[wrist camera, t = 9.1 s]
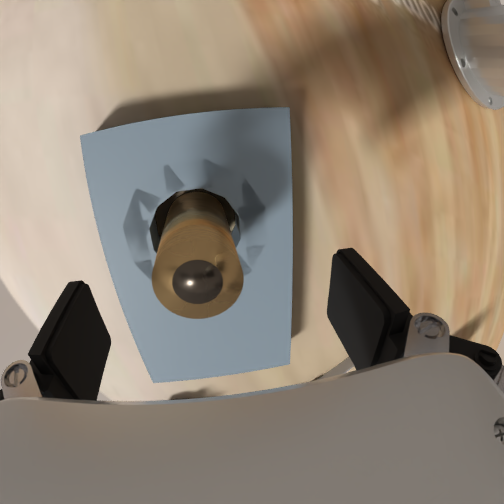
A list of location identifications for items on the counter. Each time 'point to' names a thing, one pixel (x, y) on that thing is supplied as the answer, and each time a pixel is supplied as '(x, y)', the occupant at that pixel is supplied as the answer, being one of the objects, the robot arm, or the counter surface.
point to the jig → (244, 233)
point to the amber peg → (197, 259)
